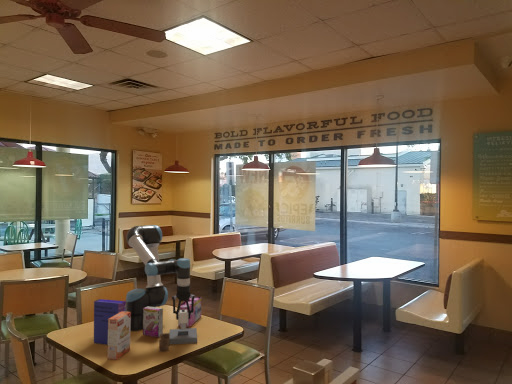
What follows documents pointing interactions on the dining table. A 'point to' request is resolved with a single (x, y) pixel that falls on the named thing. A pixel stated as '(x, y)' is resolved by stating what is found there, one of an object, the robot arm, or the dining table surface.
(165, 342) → the holster
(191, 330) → the port block
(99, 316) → the cereal box
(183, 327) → the plug
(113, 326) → the cracker box
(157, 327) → the candy bar box
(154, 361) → the dining table surface
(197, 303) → the gum box
